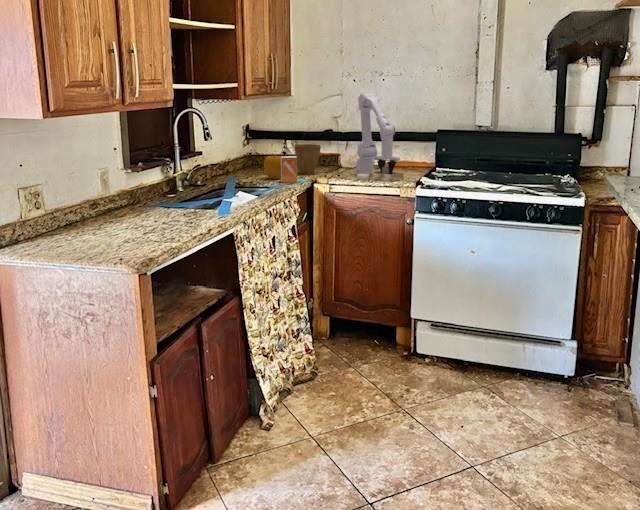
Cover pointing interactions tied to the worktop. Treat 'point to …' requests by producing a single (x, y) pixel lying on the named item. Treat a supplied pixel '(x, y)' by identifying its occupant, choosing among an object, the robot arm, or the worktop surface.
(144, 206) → the worktop surface
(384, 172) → the slate plug
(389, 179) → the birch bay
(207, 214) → the worktop surface
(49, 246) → the worktop surface
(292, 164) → the small box
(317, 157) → the plant pot
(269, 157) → the mustard rounded block
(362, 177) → the pale grey block
